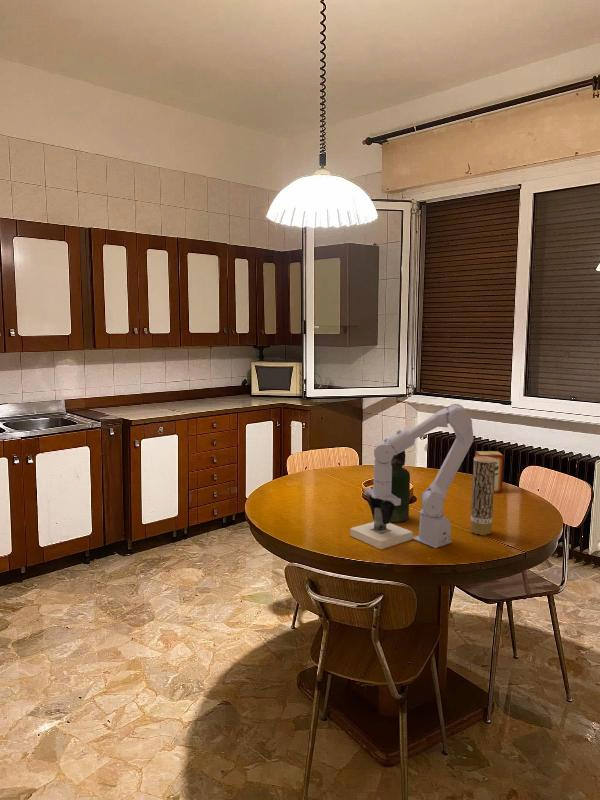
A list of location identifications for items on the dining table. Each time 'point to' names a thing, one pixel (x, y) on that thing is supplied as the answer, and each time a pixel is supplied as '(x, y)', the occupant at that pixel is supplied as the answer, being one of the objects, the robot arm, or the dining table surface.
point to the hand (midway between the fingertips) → (381, 521)
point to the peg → (378, 518)
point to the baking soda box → (498, 467)
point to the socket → (381, 535)
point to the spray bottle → (400, 487)
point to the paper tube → (482, 495)
